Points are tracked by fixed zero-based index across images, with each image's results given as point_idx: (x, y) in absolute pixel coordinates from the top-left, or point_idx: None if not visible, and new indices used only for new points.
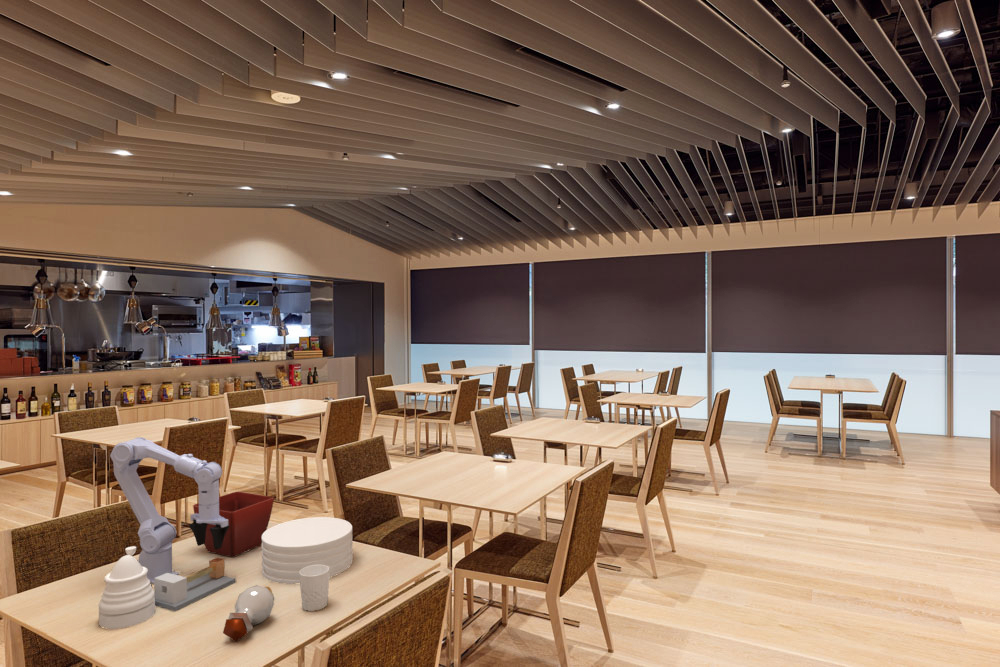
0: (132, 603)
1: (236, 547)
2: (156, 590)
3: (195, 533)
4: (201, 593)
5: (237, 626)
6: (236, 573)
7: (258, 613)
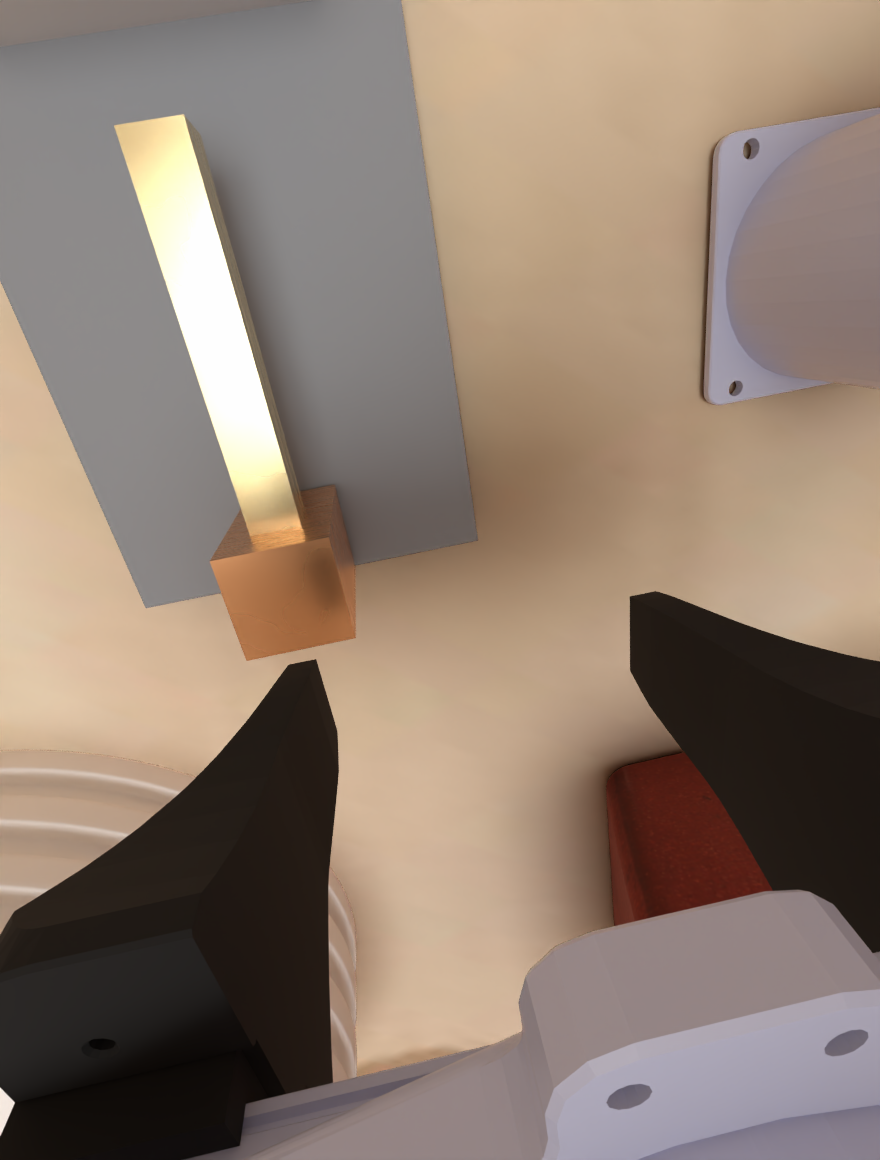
0: None
1: (613, 838)
2: None
3: (776, 665)
4: (4, 233)
5: None
6: (328, 671)
7: None
